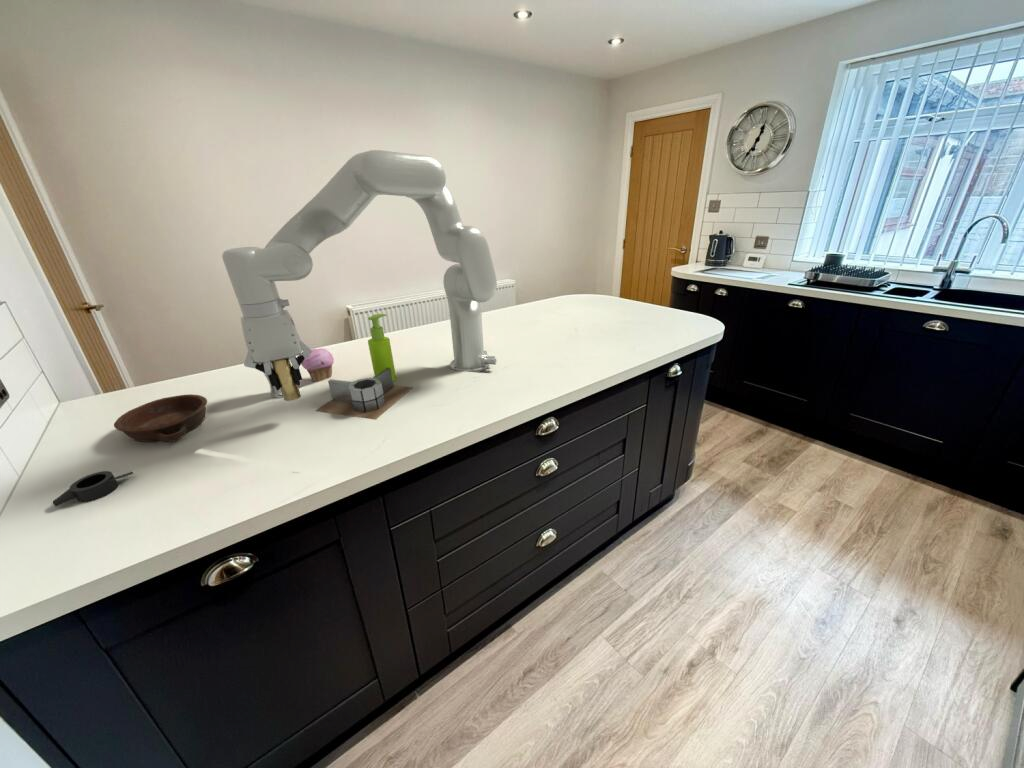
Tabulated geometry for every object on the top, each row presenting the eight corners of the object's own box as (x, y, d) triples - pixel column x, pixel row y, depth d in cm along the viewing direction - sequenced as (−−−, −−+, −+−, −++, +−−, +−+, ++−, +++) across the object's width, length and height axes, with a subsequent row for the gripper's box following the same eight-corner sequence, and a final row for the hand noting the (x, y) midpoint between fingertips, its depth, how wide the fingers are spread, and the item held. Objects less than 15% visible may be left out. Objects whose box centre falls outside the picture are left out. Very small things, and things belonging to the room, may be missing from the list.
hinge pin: (304, 394, 94) (291, 355, 89) (292, 401, 91) (279, 362, 86) (292, 393, 95) (279, 354, 90) (280, 400, 92) (266, 360, 87)
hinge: (404, 388, 109) (400, 368, 106) (373, 413, 97) (368, 392, 94) (359, 383, 113) (355, 364, 110) (324, 407, 100) (318, 386, 98)
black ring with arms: (78, 486, 76) (71, 474, 75) (140, 474, 79) (134, 463, 78) (51, 513, 70) (42, 500, 69) (119, 499, 73) (112, 487, 71)
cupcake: (302, 380, 118) (293, 350, 114) (330, 371, 124) (322, 342, 120) (314, 389, 113) (305, 357, 108) (343, 379, 118) (335, 348, 114)
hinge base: (413, 390, 110) (413, 387, 110) (376, 423, 94) (375, 419, 94) (359, 384, 115) (358, 381, 114) (315, 414, 99) (314, 410, 99)
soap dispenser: (402, 377, 118) (392, 313, 109) (387, 387, 112) (374, 320, 104) (387, 375, 120) (376, 311, 112) (371, 384, 115) (358, 318, 106)
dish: (125, 463, 83) (113, 443, 81) (122, 425, 98) (112, 407, 95) (221, 431, 94) (214, 413, 92) (206, 401, 108) (199, 385, 106)
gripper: (304, 299, 89) (325, 371, 98) (218, 311, 83) (248, 388, 91) (306, 305, 83) (328, 382, 92) (213, 320, 77) (246, 401, 85)
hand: (288, 384), depth 91 cm, fingers closed on hinge pin, 3 cm apart
